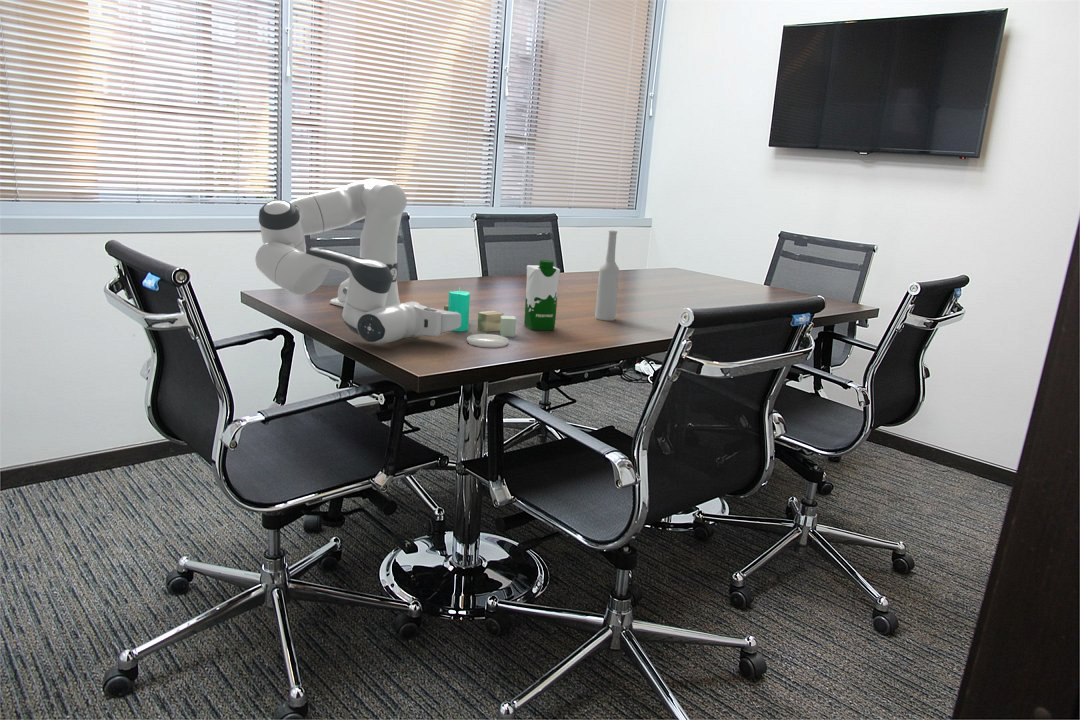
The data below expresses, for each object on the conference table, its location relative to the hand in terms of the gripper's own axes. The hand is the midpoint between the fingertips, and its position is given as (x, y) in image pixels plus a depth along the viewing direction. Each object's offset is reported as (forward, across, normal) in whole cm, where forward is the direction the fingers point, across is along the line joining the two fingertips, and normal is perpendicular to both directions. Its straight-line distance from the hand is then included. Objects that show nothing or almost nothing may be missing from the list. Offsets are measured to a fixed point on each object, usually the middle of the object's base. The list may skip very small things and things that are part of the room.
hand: (441, 311), depth 207 cm
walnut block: (+16, -6, -6) cm, 18 cm away
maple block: (+15, +7, -6) cm, 17 cm away
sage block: (+13, +14, -6) cm, 20 cm away
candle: (+9, 0, -6) cm, 11 cm away
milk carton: (+28, +16, -6) cm, 32 cm away
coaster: (+1, +15, -6) cm, 16 cm away
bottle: (+56, +25, -6) cm, 61 cm away
